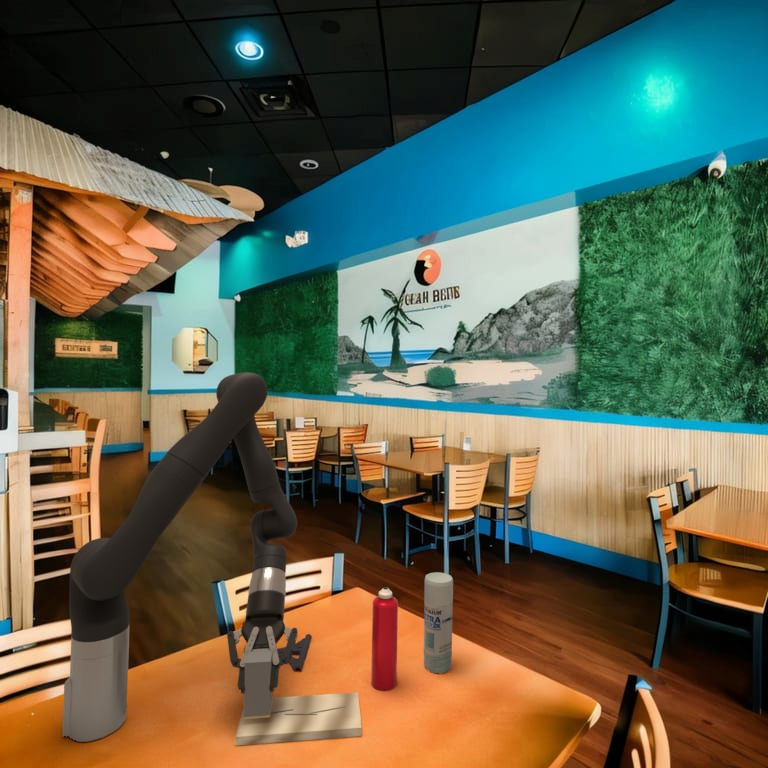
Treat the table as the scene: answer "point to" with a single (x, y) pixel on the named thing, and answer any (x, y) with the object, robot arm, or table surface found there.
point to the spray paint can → (438, 622)
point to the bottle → (384, 641)
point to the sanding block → (258, 684)
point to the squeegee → (297, 653)
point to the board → (304, 720)
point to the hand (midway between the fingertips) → (257, 690)
